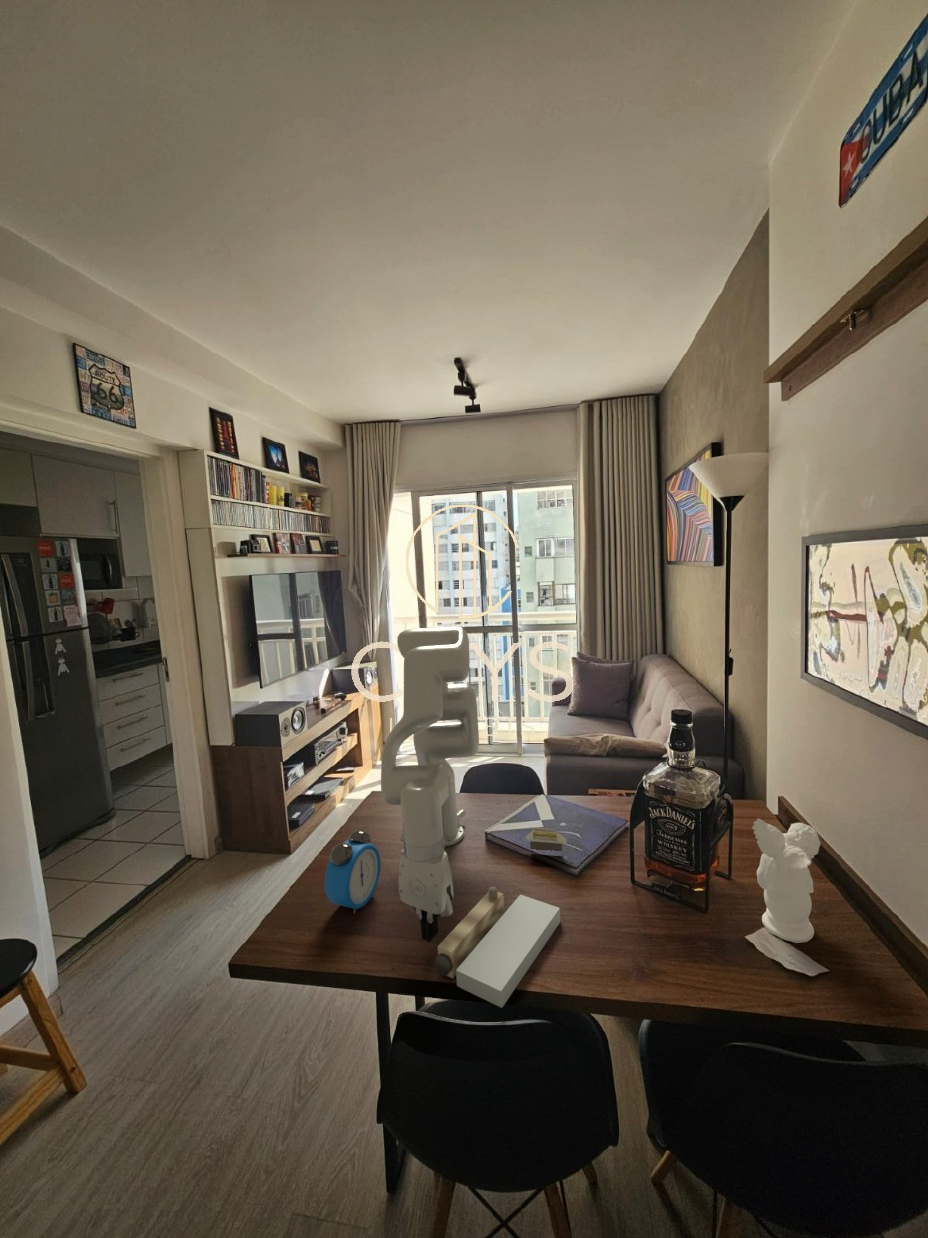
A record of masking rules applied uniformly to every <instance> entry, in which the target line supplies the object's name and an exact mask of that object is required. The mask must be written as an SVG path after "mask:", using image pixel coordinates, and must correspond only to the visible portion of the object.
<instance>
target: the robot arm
mask: <svg viewBox="0 0 928 1238" xmlns="http://www.w3.org/2000/svg"><path fill="white" fill-rule="evenodd" d="M396 638H397V648H398V650H399V653H400V655H401V656H402V657H403V713H402V717H401V718H400V719H399V721H398V722H397V724H395V725H394V727H393V728H392V730H391V731H390V733H389V734H388V735H387V737H386V740H385V742H384V745H383V748H382V754H381V767H380V769H381V771H380V791H381V796H382V798H383V801H384V802H385V803H387V804H389V805H391V806H400V809H401V810H400V811H401V824H402V825H401V826H402V833H401V835H400V836H399V840H400V841H401V842H403V849H402V850H401V852H400V858H399V866H398V895H399V898H400V899H399V900H400V901H401V902H403V904H406V905H409V906H411V907H412V908H413V909H414V910H415V914H416V917H417V919H418V920H420V933H421V939H422V940H423V941H426V942H428V943H430V942H431V941H432V940H434V939H433V938H435V936H437V935H438V933H439V917H440V916H441V917H445V918H446V917H448V918H449V917H450V916H451V915H452V914H453V913H454V910H453V905H452V902H453V901H454V884H453V883H454V882H453V875H452V870H451V865H450V860H449V856H448V853H447V852H446V851H445V848H446V847H451V846H453V845H455V844H457V843H459V842H460V841H461V840H462V839H463V837H464V836H465V835H464V834H465V833H464V832H465V831H464V828H463V826H462V825H460V821H461V819H462V818H464V817H465V816H466V811H465V810H464V809H460V810H459V811H458V809H457V794H456V793H457V792H456V779H455V778H456V777H455V772H454V769H453V767H452V766H451V765H450V763H449V762H448V761H447V760H446V759H459V758H460V759H461V758H469V757H473V756H475V755H476V754H477V753H478V751H479V748H480V747H479V746H480V736H479V735H480V733H479V732H480V731H479V720H478V704H477V703H478V702H477V695H476V693H475V689H474V688H473V686H471V685H470V684H468V683H460V682H464V681H466V680H467V679H468V676H469V672H470V663H471V662H470V661H471V660H470V659H471V658H470V638H469V635H468V633H467V631H466V629H465V628H464V627H461V626H441V627H422V628H421V627H420V628H411V629H410V628H409V629H405V630H402V631H401V632H400V633H399V634H398V635H397V637H396ZM458 682H459V683H458ZM411 736H412V738H413V746H414V750H415V755H416V760H417V764H415V765H413V764H411V765H397V755H398V751H399V749H400V747H401V746H402V745H403V743H405V741H406V740H407V739H408V738H410V737H411ZM396 765H397V766H396Z"/></svg>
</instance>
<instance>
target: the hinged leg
mask: <svg viewBox="0 0 928 1238" xmlns="http://www.w3.org/2000/svg"><path fill="white" fill-rule="evenodd" d="M504 902H505V901H504V893H503V892H499V891H498V887H496V886H489V887H488V892H486V893H485V895H484V896H483V897H482V898H481V899H480V900H479V902H477V903H476V905H474V906H473V908H472V909H471V910H470V911H469V912H468V913H467V915H466V916H464V918H462V919H461V920H460V922H459V923H458V924H456V926H455V927H454V928H453V929H452V931H450V933H448V935H446V937H445V938H444V939H443V940H442V941H441V942H440V943H439V945H437V956H436V958H435V959H434V961H433V966H434V968H435V970H436V972H437V974H439V975H441V976H443V977H449V978H451V979H454V978H455V977H456V970H457V968H458V967H459V966H460V965H461V964H462V963H463V961H464V960H465V959H466V958H467V957H468V956H469V954H470V953H471V952H472V951H473V950H474V948H475V947H476V946H477V945H478V944H479V943H480V941H481V940H482V939H483V938H484V937H485V936H486V934H487V933H488V932H489V931H490V930H491V928H492V927H493V926H494V925H495V924H496V923H497V921H498V920H499V919H500V918H501V917H502V916H503V914H504V913H505V907H504V905H505V904H504Z"/></svg>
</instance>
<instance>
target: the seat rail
mask: <svg viewBox="0 0 928 1238" xmlns="http://www.w3.org/2000/svg"><path fill="white" fill-rule="evenodd" d="M560 923H561V907H558V906H555V905H552V904H549V903H546V902H543V901H540V900H537V899H535V898H532V897H529V896H527V895H524V894H519V896H517V898H516V899H515V900H514V901H513V903H512V904H511V905H510V906H509V907H508V908H507V910H506V911H504V914H503V916H502V917H501V918H500V919H499V920H498V921H497V923H496V924H495V925H494V926H493V927H492V928H491V930H490V931H489V932H488V933H487V934H486V936H485V937H484V938H483V939H482V940H481V941H480V943H479V944H478V945H477V946H476V947H475V948H474V950H473V951H472V952H471V953H470V954H469V956H468V957H467V958H466V959H465V960H464V961H463V963H462V964H461V965H460V966H459V967H458V968H457V970H456V976H455V977H456V986H457V987H458V988H460V989H462V990H463V991H466V992H468V993H470V994H472V995H475V996H476V997H478V998H481V999H483V1000H485V1001H487V1002H488V1003H490V1004H493V1005H495V1006H496V1007H499V1008H501V1009H502V1008H503V1007H504V1006H505V1004H506V1003H507V1002H508V1000H509V998H510V997H511V995H513V992H514V991H515V989H516V988H517V986H519V983H520V982H521V981H522V979H523V978H524V977H525V975H526V973H527V972H528V971H529V969H530V968H531V966H532V964H533V962H534V961H535V960H536V959H537V957H538V956H539V954H540V952H541V951H542V950H543V948H544V947H545V945H546V944H547V942H548V941H549V939H550V938H551V936H552V935H553V934H554V933H555V931H556V929H557V927H559V925H560Z"/></svg>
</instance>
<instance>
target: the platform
mask: <svg viewBox="0 0 928 1238" xmlns="http://www.w3.org/2000/svg"><path fill="white" fill-rule="evenodd" d="M525 841H526V842H529V843H530V844H529V846H530V847H529V848H530V849H536V850H551V851H552V850H554V851H562V852H563V845H564V844H565V845H566V844H567V838H566V837H565V836H563V835H562V834H561V833H560V832H557V829H554V828H542V827H535V828H533V830H532V831H530V832H529V833H528V834H527V835H526V836H525Z"/></svg>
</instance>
